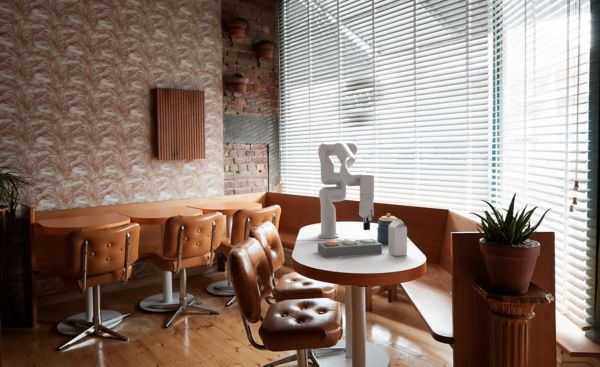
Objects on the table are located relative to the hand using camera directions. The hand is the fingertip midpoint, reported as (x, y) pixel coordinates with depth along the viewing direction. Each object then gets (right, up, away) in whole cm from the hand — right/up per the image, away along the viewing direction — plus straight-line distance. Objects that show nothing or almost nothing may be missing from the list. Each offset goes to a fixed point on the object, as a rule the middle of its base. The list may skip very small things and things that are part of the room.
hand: (366, 229), depth 230 cm
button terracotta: (-20, -8, -4) cm, 22 cm away
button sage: (+1, -9, +1) cm, 9 cm away
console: (-9, -12, -1) cm, 15 cm away
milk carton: (+15, -13, -6) cm, 21 cm away
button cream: (-9, -8, -2) cm, 12 cm away
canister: (+16, -10, +21) cm, 28 cm away
